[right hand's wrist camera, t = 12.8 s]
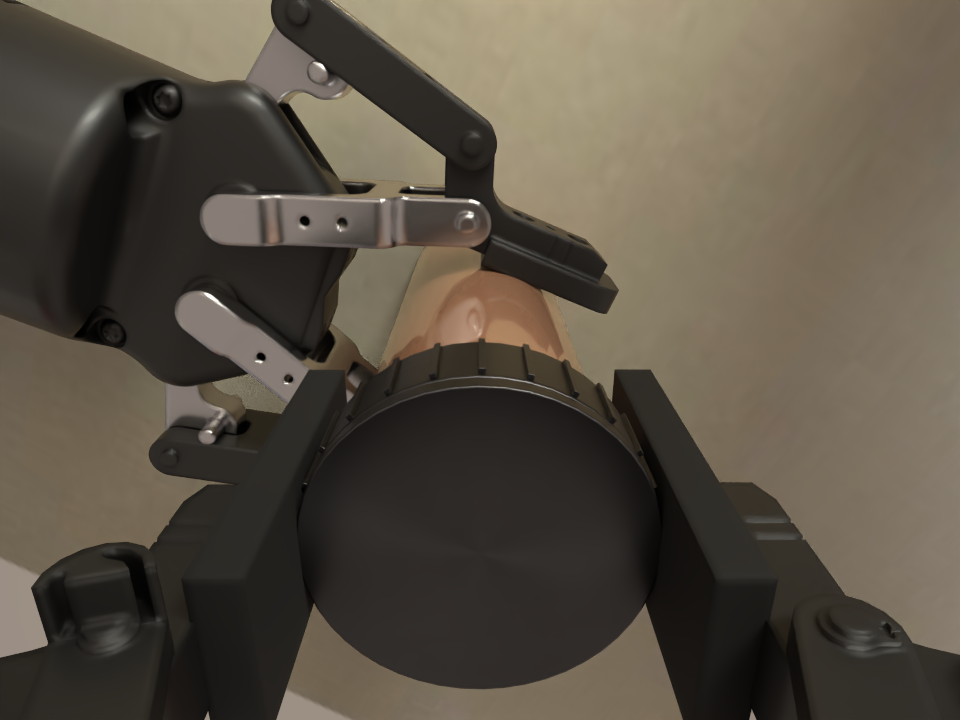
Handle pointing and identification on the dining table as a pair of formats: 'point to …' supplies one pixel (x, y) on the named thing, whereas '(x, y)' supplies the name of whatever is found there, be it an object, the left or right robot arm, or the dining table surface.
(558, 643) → the lid
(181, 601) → the right robot arm
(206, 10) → the dining table surface
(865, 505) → the dining table surface
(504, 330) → the jar
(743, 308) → the dining table surface
